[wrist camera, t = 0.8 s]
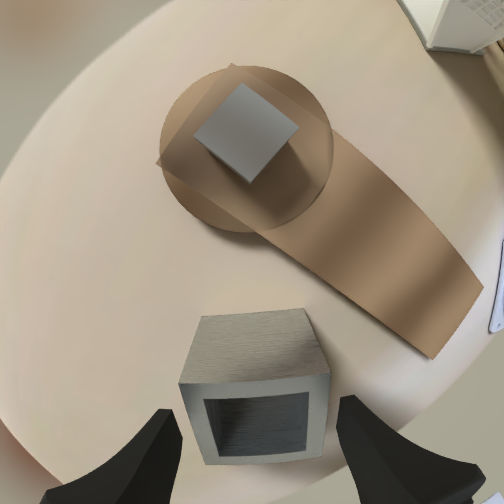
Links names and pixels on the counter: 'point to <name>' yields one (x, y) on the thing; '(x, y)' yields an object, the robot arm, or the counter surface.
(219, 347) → the steel collar
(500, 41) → the sprinkles bottle
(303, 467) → the counter surface
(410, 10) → the skyscraper
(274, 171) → the walnut base
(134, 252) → the counter surface
